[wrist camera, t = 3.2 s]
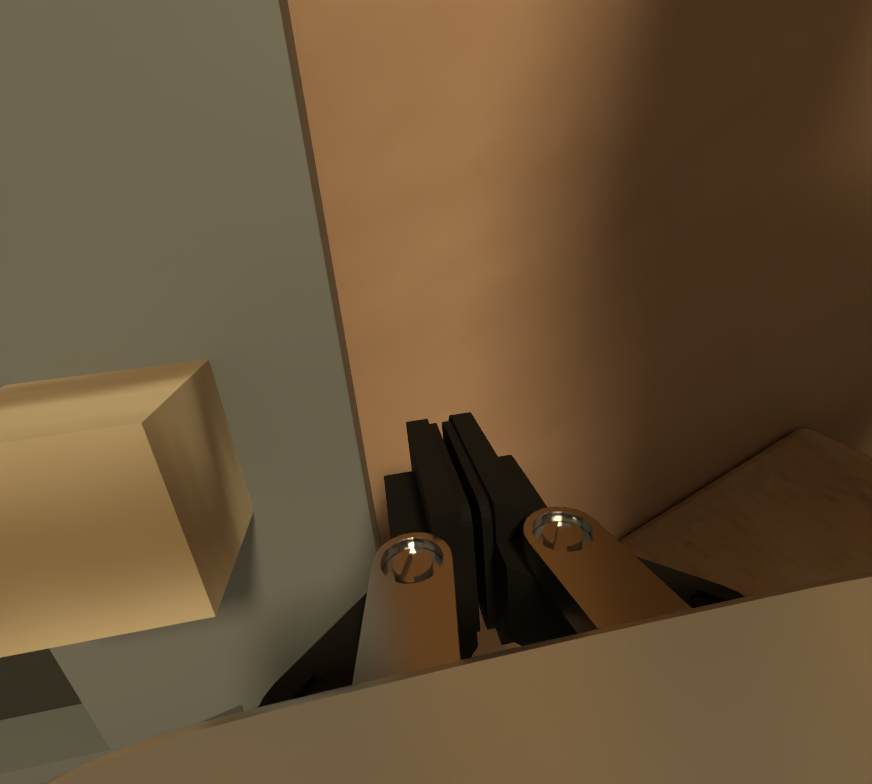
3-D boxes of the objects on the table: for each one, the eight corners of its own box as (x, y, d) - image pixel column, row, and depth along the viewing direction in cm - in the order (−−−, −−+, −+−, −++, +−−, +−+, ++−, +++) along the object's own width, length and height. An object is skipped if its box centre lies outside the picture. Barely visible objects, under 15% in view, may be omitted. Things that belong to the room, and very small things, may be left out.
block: (6, 385, 11) (-163, 465, 8) (208, 359, 12) (141, 422, 8) (83, 538, 13) (-24, 662, 10) (253, 510, 14) (215, 616, 10)
